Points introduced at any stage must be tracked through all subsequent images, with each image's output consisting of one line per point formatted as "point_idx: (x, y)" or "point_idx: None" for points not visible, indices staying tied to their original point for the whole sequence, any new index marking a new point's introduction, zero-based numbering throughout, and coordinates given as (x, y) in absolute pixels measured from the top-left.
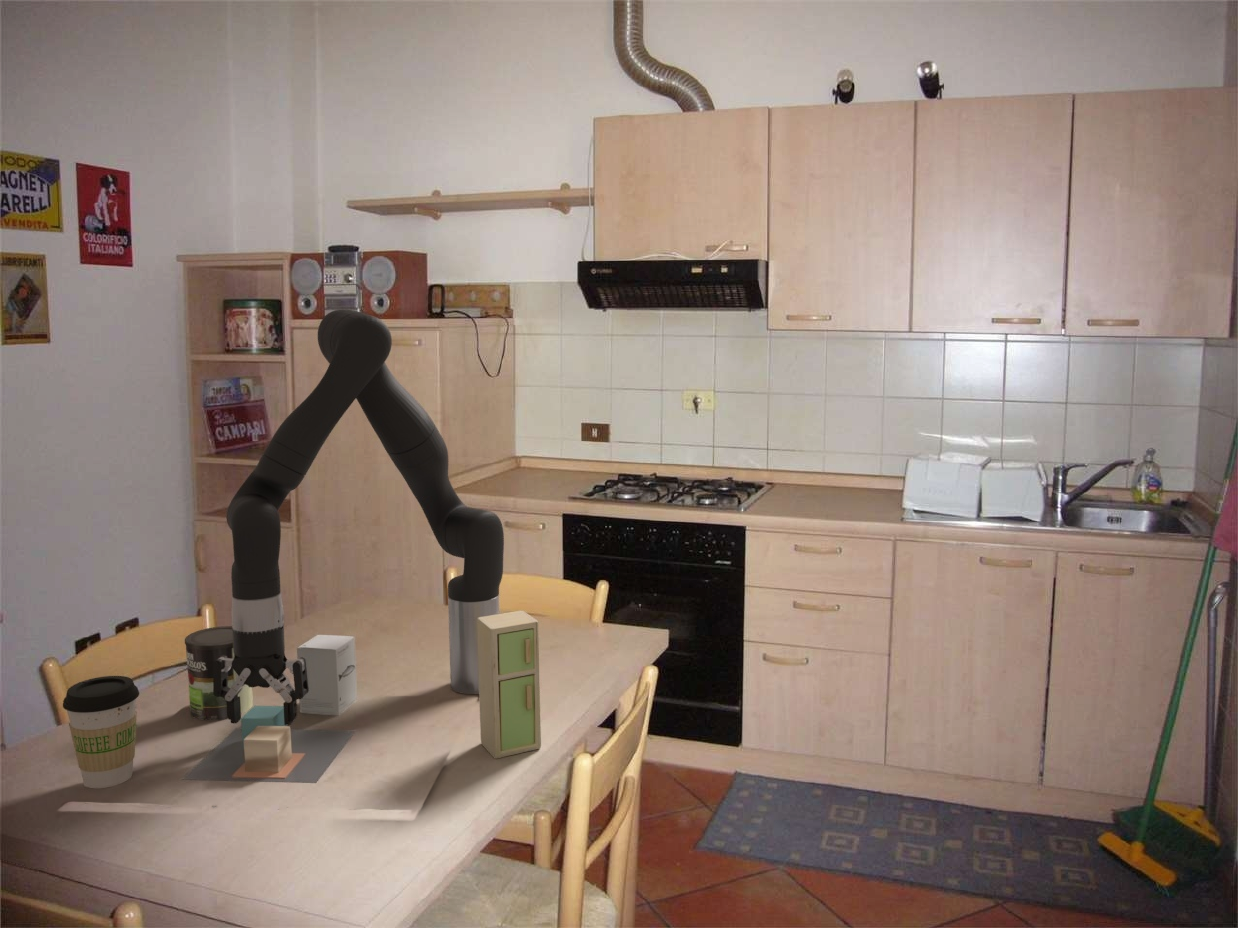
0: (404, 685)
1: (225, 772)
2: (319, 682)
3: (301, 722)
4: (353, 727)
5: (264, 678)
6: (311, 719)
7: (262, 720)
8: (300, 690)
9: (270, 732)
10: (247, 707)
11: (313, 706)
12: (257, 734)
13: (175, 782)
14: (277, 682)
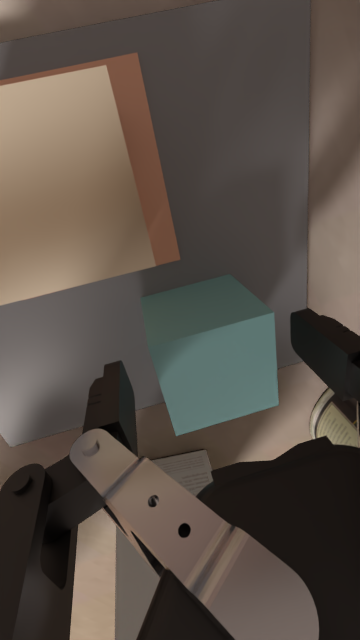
0: (103, 583)
1: (185, 94)
2: None
3: (190, 436)
4: (61, 459)
5: (237, 532)
6: (178, 451)
7: (188, 332)
8: (3, 519)
9: (34, 212)
10: (323, 432)
11: (178, 481)
12: (82, 166)
13: (328, 24)
14: (134, 529)
